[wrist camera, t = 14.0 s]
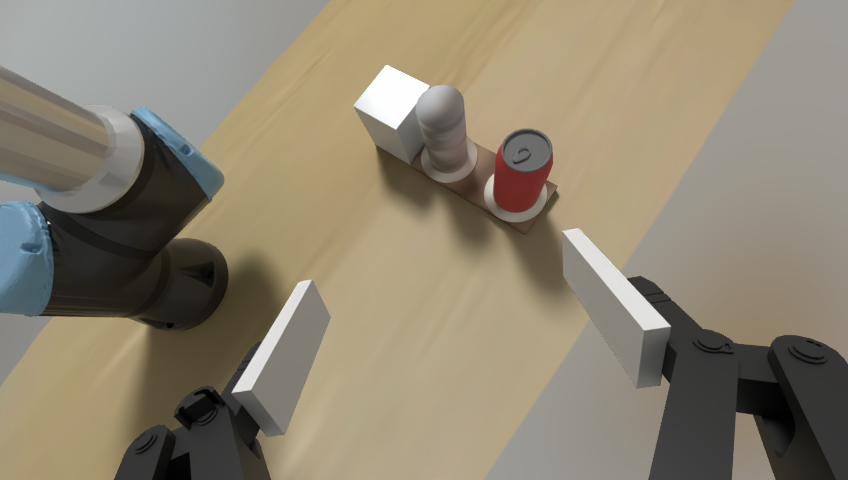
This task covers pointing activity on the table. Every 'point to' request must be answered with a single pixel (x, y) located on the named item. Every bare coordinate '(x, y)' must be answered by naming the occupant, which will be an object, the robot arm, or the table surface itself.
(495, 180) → the beer can
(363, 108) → the white upright block
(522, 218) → the board
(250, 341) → the table surface
